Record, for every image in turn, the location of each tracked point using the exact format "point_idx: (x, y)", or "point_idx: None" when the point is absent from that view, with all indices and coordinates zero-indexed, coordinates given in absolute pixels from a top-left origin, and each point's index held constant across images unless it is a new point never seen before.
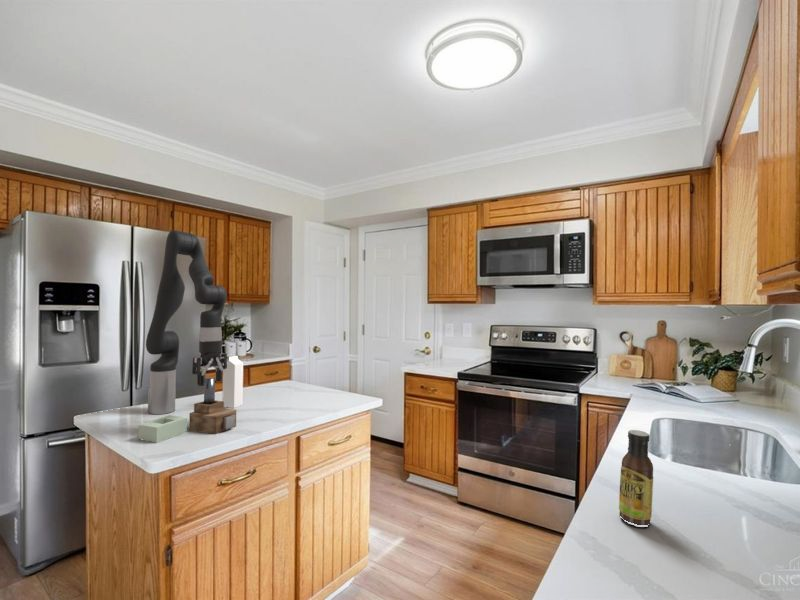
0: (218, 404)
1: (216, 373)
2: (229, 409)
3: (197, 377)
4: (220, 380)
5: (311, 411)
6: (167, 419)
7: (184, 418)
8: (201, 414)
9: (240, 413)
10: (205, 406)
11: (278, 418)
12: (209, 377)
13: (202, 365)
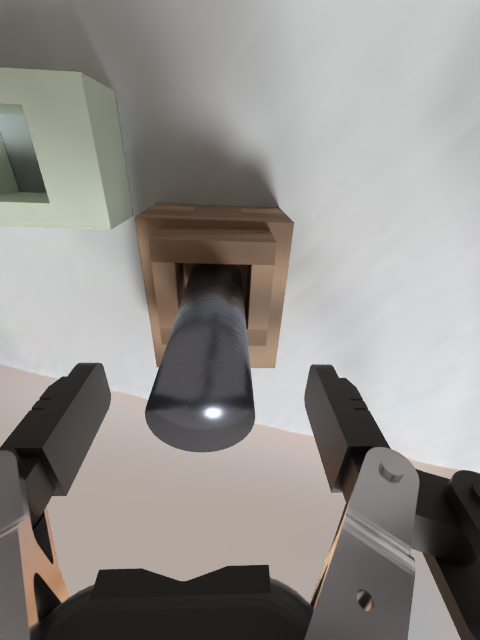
0: None
1: (336, 429)
2: (270, 342)
3: (8, 439)
4: (306, 408)
5: (458, 426)
6: (32, 134)
7: (94, 227)
8: (150, 292)
9: (433, 238)
10: (159, 318)
11: (374, 390)
12: (236, 391)
13: (9, 635)
